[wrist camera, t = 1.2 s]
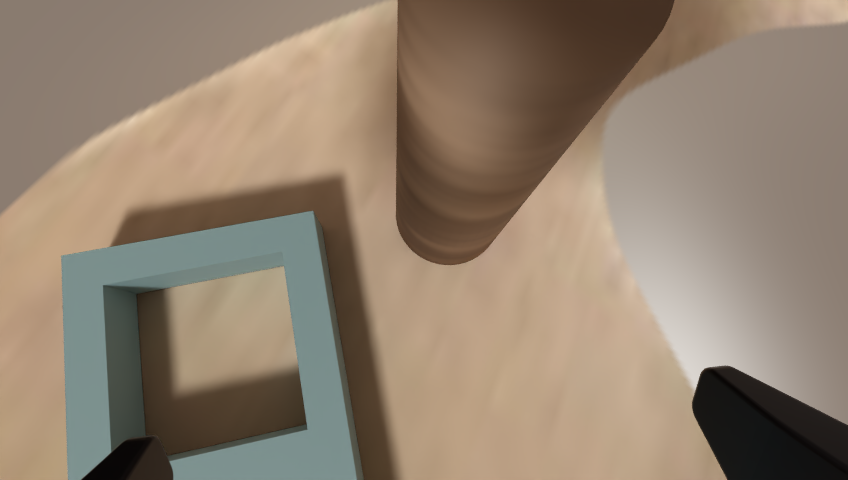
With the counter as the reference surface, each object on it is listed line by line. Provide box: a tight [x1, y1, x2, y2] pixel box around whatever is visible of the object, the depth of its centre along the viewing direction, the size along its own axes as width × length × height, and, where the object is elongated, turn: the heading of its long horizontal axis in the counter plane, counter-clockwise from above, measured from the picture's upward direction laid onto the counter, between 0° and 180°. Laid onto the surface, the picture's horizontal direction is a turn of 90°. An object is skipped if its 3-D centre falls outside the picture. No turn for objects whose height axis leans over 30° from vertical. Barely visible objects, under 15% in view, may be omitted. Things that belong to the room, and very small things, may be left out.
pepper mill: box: [396, 0, 674, 265], centre depth 16 cm, size 5×5×15 cm
